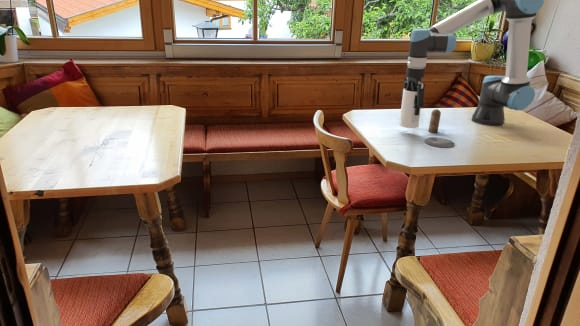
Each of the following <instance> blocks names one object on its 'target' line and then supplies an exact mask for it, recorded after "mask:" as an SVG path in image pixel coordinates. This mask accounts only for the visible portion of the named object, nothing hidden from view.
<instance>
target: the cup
mask: <svg viewBox="0 0 580 326" xmlns="http://www.w3.org/2000/svg"><path fill="white" fill-rule="evenodd" d="M406 89H407V88H404V89H403V88H402V90H403V97H402V99H401V106H400V107H401V109H400V117H399V123H398V124H399V126H400V127H403V128H407V129H416V128H419V123H420V116H421V110H422V107H421V108H420V111H419V117H418V122H411V120H412V113H413V107H414V98H415V95H416V96H417V92H412V91H406ZM417 90H418V89H417Z"/></svg>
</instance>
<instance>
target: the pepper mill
mask: <svg viewBox="0 0 580 326" xmlns="http://www.w3.org/2000/svg"><path fill="white" fill-rule="evenodd" d="M441 113H442V112H441V111H440V109H437V108H436V109H433V110H432V111H431V115H430V120H429V126H428V132H429V133H432V134H437V133H438V132H439V126H440V125H439V124H440V120H441V115H442V114H441Z"/></svg>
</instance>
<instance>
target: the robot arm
mask: <svg viewBox="0 0 580 326" xmlns="http://www.w3.org/2000/svg"><path fill="white" fill-rule="evenodd" d="M544 2H545V0H476V1H474V2H472V3H471V4H468V6H466V7H464V8H463V9H460V10H458V11H457V12H455V13H453V14H452V15H450V16H448V17H446V18H444V19H443V20H440V21H439V22H437V23H436V24H434V25H432V26H430V27H429V28H414V29H412V30H411V32H410V38H409V49H408V57H407V68H406V70H405V71H406V73H405V76H406V77H404V79H403V86H402V91H401V93H400V94H401V95H400V100H402V97H403V89H404V88H407V89H406V91H412V92H417V96H416V95H415V98H414V107H413V113H412V120H411V122H418V117H419V111H420V112H421V110H420V108H421V109H422V108H423V107H424V105H425V103H424V101H425V88H426V83H422V79H423V78H424V77H425V74H426V67H427V59H428V54H430V53H432V54H433V53H434V54H435V53H437V54H438V53H440V54H442V53H443V54H446V53H452V52H454V50H455V49H456V46H457V37H456V36H455V34H456V33H457V32H459V31H461V30H463V29H464V28H466V27H469V26H470V25H472V24H473V23H475V22H476V21H478V20H480V19H482V18H484V17H486V16H487V17H490V16H492V15H494V14H496V13H502V12H505V17H504V18H505V20H507V22H508V30H507V31H508V33H507V46H506V47H507V50H506V59H505V60H506V63H505V75H486V76H485V77H483V81H482V85H481V89H480V95H479V99H478V105H477V106H476V109H475V110H474V112H473V114H472V115H471V121H472V122H474V123H477V124H480V125H485V126H491V127H492V126H494V127H495V126H496V127H499V126H500V127H501V126H503V124H505V121H506V119H505V111H504V108H508V109H509V110H514V111H523V110H525V109H527V108H528V107H529V106H530V105H531V104H532V103H533V101H534V99H535V97H536V96H535V95H536V92H535V89H534V88H533V87H532V86H531V84H530V83H531V78H530V77H529V76H528V75H527V74H528V67H529V54H530V41H531V32H532V21H533V20H534V19H535V18H536V17H537V12H539V11H540V10H541V7H542V6H543V5H544ZM417 89H418V90H417ZM419 118H420V117H419Z"/></svg>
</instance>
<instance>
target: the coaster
mask: <svg viewBox="0 0 580 326" xmlns="http://www.w3.org/2000/svg"><path fill="white" fill-rule="evenodd" d="M424 143H425V144H427V145H428V146H430V147H431V146H432V147H434V148H439V149H440V148H441V149H442V148H443V149H450V148H453V147H454V146H455V144H456V143H455V142H454V141H452V140H451V139H448V138H443V137H437V136H430V137H427V138H425V139H424Z"/></svg>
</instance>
